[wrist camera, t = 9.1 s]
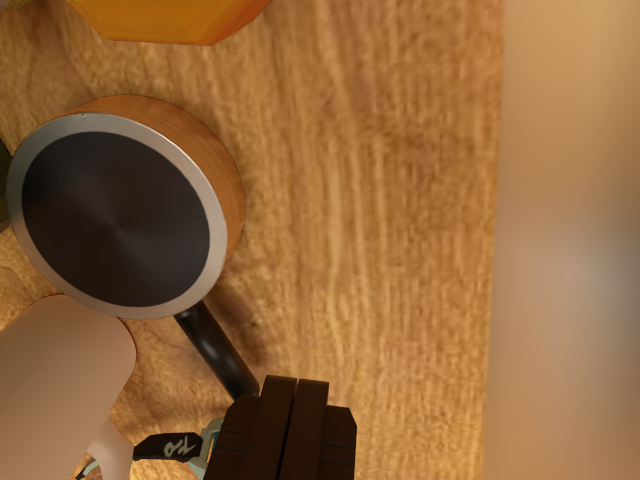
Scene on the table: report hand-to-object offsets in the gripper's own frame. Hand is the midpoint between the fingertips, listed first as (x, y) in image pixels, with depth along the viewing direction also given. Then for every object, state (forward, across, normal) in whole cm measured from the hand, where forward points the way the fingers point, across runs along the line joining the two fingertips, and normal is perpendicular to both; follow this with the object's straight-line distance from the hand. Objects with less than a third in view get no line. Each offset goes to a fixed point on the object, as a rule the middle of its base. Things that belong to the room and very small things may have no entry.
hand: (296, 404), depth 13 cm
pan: (+11, +7, +3) cm, 14 cm away
